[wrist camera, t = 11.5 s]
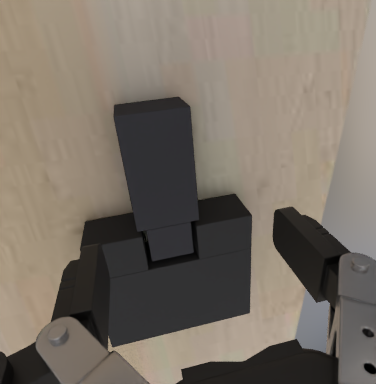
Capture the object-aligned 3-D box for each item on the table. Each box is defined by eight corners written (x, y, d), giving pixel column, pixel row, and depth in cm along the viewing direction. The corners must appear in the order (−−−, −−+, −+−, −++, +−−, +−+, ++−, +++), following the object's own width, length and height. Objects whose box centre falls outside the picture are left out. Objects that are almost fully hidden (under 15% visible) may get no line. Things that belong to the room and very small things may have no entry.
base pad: (235, 193, 28) (252, 215, 24) (236, 285, 33) (250, 313, 30) (84, 221, 26) (79, 249, 22) (112, 313, 31) (112, 347, 28)
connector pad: (179, 96, 23) (190, 106, 19) (191, 225, 28) (201, 251, 25) (114, 104, 22) (113, 116, 18) (140, 235, 28) (143, 263, 24)
